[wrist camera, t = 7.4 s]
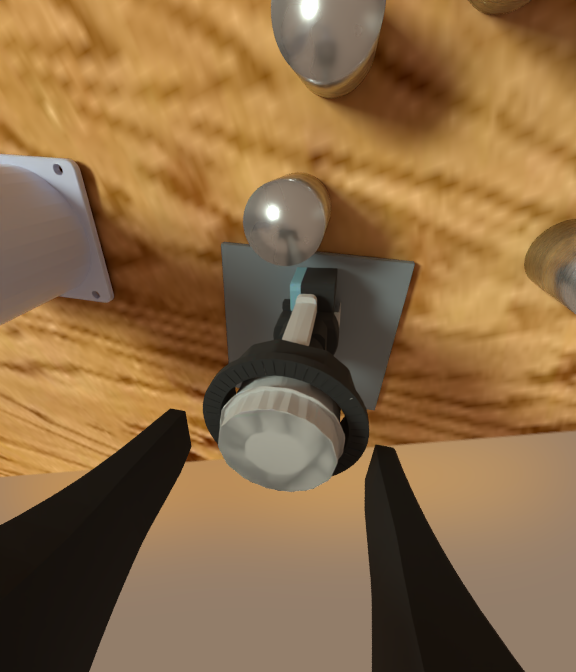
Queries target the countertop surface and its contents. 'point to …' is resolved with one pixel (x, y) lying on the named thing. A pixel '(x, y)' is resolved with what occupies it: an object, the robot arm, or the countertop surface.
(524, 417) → the countertop surface
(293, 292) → the push button
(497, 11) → the cylinder
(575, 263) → the cylinder
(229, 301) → the mat
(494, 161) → the countertop surface
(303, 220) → the cylinder
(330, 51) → the cylinder
